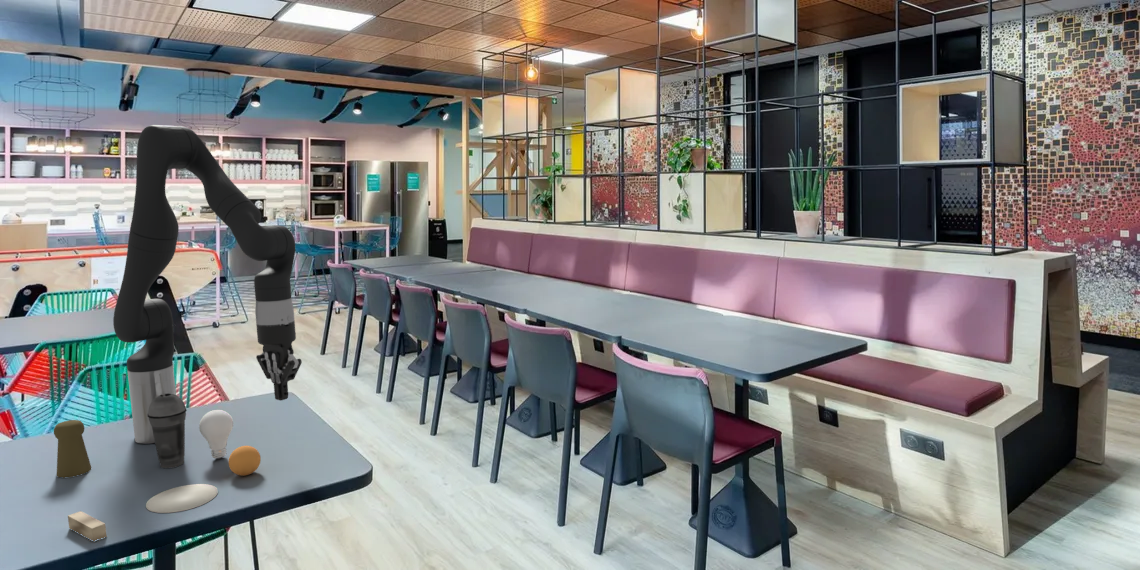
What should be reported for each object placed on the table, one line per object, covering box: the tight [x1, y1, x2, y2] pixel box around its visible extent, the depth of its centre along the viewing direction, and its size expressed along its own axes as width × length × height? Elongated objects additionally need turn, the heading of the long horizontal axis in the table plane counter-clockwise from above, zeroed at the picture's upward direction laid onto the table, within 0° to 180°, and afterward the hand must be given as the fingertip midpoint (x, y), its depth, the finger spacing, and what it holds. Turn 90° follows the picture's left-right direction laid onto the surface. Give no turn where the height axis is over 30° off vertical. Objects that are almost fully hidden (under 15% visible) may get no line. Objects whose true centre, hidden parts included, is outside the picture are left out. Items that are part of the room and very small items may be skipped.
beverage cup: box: [148, 373, 188, 469], centre depth 148 cm, size 7×7×20 cm
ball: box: [228, 445, 261, 477], centre depth 143 cm, size 6×6×6 cm
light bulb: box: [198, 409, 234, 460], centre depth 151 cm, size 7×7×11 cm
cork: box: [53, 419, 92, 479], centre depth 145 cm, size 6×6×11 cm
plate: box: [145, 483, 219, 514], centre depth 132 cm, size 12×12×1 cm
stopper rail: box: [67, 510, 108, 541], centre depth 119 cm, size 9×2×2 cm, turn 57°
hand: (281, 399), depth 149 cm, fingers closed
